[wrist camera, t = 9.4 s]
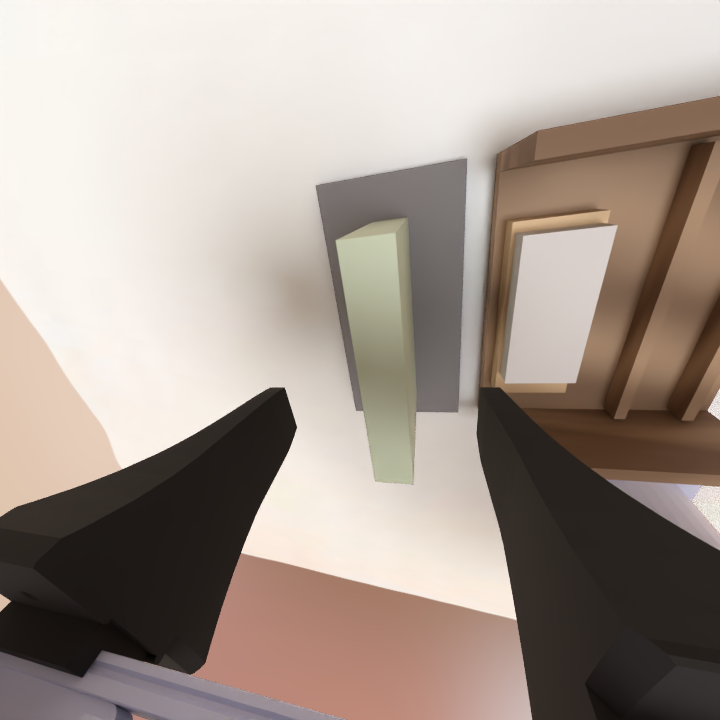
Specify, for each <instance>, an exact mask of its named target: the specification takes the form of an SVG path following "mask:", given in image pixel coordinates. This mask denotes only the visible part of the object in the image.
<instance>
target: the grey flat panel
mask: <svg viewBox="0 0 720 720" xmlns="http://www.w3.org/2000/svg"><path fill="white" fill-rule="evenodd" d="M466 174H467V159H462V160H456V161H451V162H445V163H439V164H434V165H428V166H423V167H417V168H411V169H406V170H400V171H395V172H389V173H383V174H378V175H372V176H367V177H361V178H355V179H350V180H344V181H339V182H333V183H327V184H322V185H316V190H317V195H318V201H319V206H320V212H321V217H322V223H323V229H324V234H325V240H326V245H327V251H328V257H329V262H330V268H331V273H332V279H333V284H334V290H335V296H336V301H337V307H338V312H339V318H340V323H341V329H342V335H343V340H344V346H345V351H346V357H347V363H348V368H349V374H350V379H351V385H352V390H353V396H354V402H355V407H356V411H363V404H362V398H361V392H360V386H359V380H358V374H357V368H356V362H355V356H354V350H353V344H352V337H351V331H350V325H349V319H348V313H347V307H346V301H345V295H344V289H343V283H342V277H341V270H340V264H339V258H338V252H337V246H336V240H338V239H340V238H342V237H344V236H346V235H348V234H350V233H352V232H354V231H356V230H358V229H360V228H362V227H364V226H366V225H368V224H370V223H372V222H377V221H384V220H391V219H398V218H405V217H408V229H409V249H410V269H411V289H412V308H413V328H414V348H415V368H416V388H417V401H416V412H458V402H459V374H460V345H461V317H462V288H463V260H464V231H465V203H466Z"/></svg>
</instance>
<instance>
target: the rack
mask: <svg viewBox="0 0 720 720" xmlns="http://www.w3.org/2000/svg"><path fill="white" fill-rule="evenodd" d="M592 209H605V210H611V211H610V215H609V219H608V223H607V224H614V225H618V226H617V230H616V234H615V238H614V241H613V245H612V249H611V253H610V256H609V260H608V264H607V268H606V271H605V275H604V279H603V283H602V286H601V290H600V294H599V298H598V301H597V305H596V309H595V313H594V316H593V320H592V324H591V328H590V331H589V335H588V339H587V343H586V346H585V350H584V354H583V358H582V361H581V365H580V369H579V373H578V376H577V380H576V383H567V387H566V391H565V393H506V394H507V395H508V396H509V397H510V398H511V399H512V400H513V401H514V402H515V403H516V404H517V405H518V406H519V407H520V408H521V409H522V410H523V411H524V412H525V413H526V414H527V415H528V416H529V417H530V418H531V419H532V420H533V421H534V422H536V423H537V424H538V425H539V426H540V427H541V428H542V429H543V430H544V431H545V432H546V433H547V434H549V435H550V436H551V437H552V438H553V439H554V440H555V441H557V442H558V443H559V444H560V445H561V446H563V447H564V448H565V449H566V450H567V451H569V452H570V453H571V454H572V455H574V456H575V457H576V458H577V459H579V460H580V461H581V462H583V463H584V464H585V465H587V466H588V467H589V468H591V469H592V470H594V471H595V472H596V473H598V474H599V475H600V476H602V477H603V478H605V479H608V480H624V481H640V482H656V483H672V484H688V485H704V486H720V420H719V419H717V418H716V417H715V416H713V415H712V414H711V413H709V412H708V411H707V410H708V408H709V406H710V405H711V403H712V401H713V399H714V398H715V396H716V394H717V392H718V390H719V389H720V96H718V97H713V98H708V99H702V100H697V101H692V102H687V103H681V104H676V105H671V106H666V107H660V108H655V109H650V110H644V111H639V112H634V113H629V114H623V115H618V116H613V117H608V118H602V119H597V120H592V121H587V122H581V123H576V124H571V125H565V126H560V127H555V128H550V129H544V130H539V131H537V132H535V133H533V134H531V135H530V136H528V137H526V138H525V139H523V140H521V141H519V142H518V143H516V144H514V145H512V146H511V147H509V148H507V149H505V150H504V151H502V152H500V153H499V154H497V164H496V178H495V191H494V204H493V217H492V230H491V243H490V256H489V269H488V283H487V296H486V309H485V322H484V335H483V348H482V361H481V375H480V387H492V384H491V375H492V365H493V355H494V345H495V334H496V324H497V314H498V304H499V293H500V283H501V273H502V263H503V253H504V242H505V232H506V222H507V220H514V219H521V218H529V217H537V216H545V215H553V214H561V213H569V212H576V211H584V210H592ZM479 396H480V388H479ZM478 409H479V401H478Z"/></svg>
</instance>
